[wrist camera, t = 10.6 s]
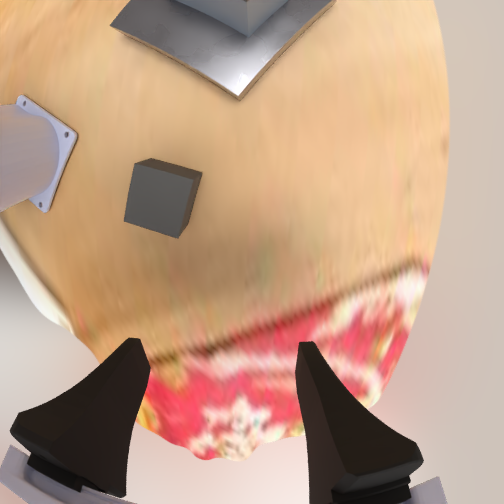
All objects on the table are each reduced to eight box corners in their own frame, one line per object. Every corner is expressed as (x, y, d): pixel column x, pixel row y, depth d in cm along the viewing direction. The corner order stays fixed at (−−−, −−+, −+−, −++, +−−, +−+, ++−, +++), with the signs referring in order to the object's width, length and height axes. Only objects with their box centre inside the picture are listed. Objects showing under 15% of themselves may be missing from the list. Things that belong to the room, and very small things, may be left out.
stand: (124, 34, 13) (109, 25, 11) (216, -55, 10) (212, -70, 7) (240, 100, 16) (238, 95, 14) (333, 4, 12) (343, -10, 10)
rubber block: (140, 208, 20) (123, 221, 17) (151, 158, 18) (134, 163, 15) (188, 223, 20) (178, 238, 17) (202, 172, 18) (193, 179, 16)
